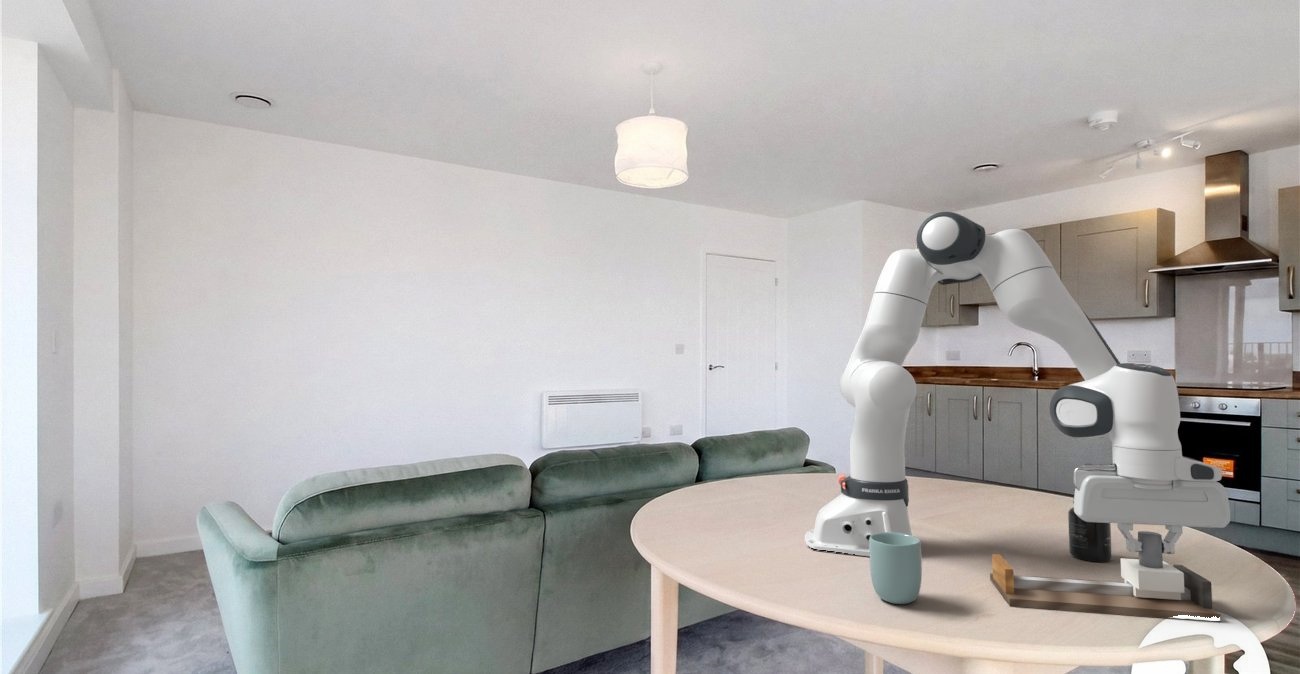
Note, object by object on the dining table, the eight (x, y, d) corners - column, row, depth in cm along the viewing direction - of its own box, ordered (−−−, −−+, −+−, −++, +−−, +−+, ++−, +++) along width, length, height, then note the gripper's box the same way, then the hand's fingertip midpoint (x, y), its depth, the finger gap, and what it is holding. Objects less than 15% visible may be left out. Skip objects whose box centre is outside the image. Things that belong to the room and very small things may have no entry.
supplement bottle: (1119, 563, 120) (1116, 499, 120) (1079, 562, 121) (1076, 498, 121) (1101, 552, 126) (1098, 492, 127) (1063, 551, 128) (1061, 491, 128)
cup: (896, 612, 99) (894, 547, 99) (861, 595, 106) (859, 535, 106) (933, 604, 102) (931, 541, 102) (896, 588, 109) (894, 529, 109)
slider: (1139, 599, 98) (1136, 537, 99) (1121, 585, 104) (1119, 527, 105) (1184, 602, 97) (1182, 540, 97) (1164, 588, 103) (1161, 529, 103)
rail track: (1009, 606, 100) (1008, 573, 101) (990, 580, 112) (989, 550, 112) (1221, 622, 93) (1219, 586, 93) (1176, 592, 105) (1175, 561, 105)
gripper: (1080, 466, 101) (1083, 553, 101) (1234, 470, 96) (1238, 562, 95) (1065, 460, 107) (1068, 542, 107) (1209, 463, 102) (1213, 550, 101)
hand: (1150, 552), depth 101 cm, fingers closed on slider, 3 cm apart
